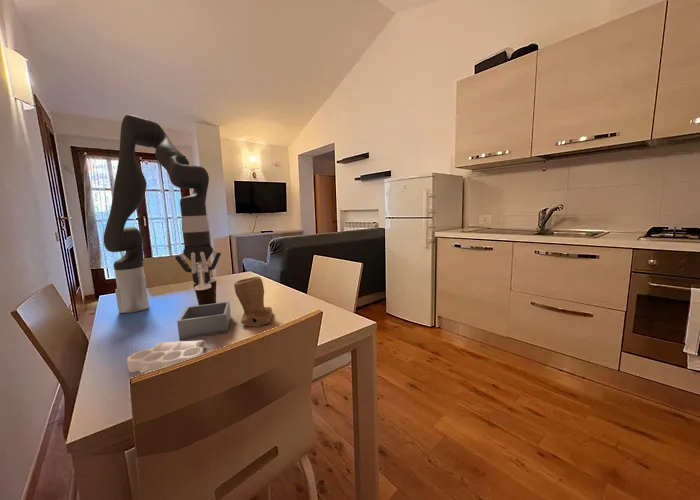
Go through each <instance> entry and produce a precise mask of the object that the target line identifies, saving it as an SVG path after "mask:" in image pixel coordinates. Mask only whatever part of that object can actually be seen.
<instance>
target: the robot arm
mask: <svg viewBox="0 0 700 500" xmlns="http://www.w3.org/2000/svg"><path fill="white" fill-rule="evenodd" d="M119 136H120V138H119V151H118V154H119V155H118V160H117V161H118V163H117V168H116V173H115V177H114V178H115V180H114V185H113V190H112V191H113V192H112V199H111V206H110V211H109V215H108V219H107V222H106V224H105V228H104V233H103V244H104V245H103V246H104V247H105V249H106V250H107V251H108V252H111V253H122V252H125V253H124V255H123V256H122V257H121V258H119V259H118V260H116V261H114V262H113V270H114V275H115V282H116V288H115V290H114V291H115V297H116V303H117V309H118V314H120V313H121V314H122V313H123V314H130V313H137V312H140V311H141V312H142V311H144V310H146V309H149V307H150V304H149V303H150V302H149V297H148V290H147V284H146V283H147V282H146V276H145V269H144V263H143V261H144V248H143V247H144V246H143V238H142V234H141V232H140V230H139V229H138V228H136V227H135V226H126V223H127V221H128V219H129V218H130V217H131V216H132V215H133V214H134V212H136V210H137V209H138V208H139V207H140V206H141V205H142V203H143V202H144V199H145V195H146V190H147V184H148V183H147V179H146V178H145V175H144V173H143V172H142V170H141V168H140V166H139V164H138V160H137V159H136V151H135V150H136V146H142V147H145V148H152V149H154V150H155V151H154V152H155V153H154V154H155V158H156V160H157V161H158V162H159V163H158V164H160V166H162V167H163V168H164V169H165V170H166V173H167V175H168V177H169V181H170V183H171V184H172V185H173V186H175V187H176V188H178V189H193V190H192V194H191V195H187V196H183V197H181V198H180V199H179V207H180V208H179V209H180V214H181V231H182V239H183V247H184V248H183V251H182V253H181V254H177V255H176V256H175V258H174V259H175V260H176V261H177V263H178V264H179V265H180V267H181V268H182V269H183V271H184V272H185V273H190V274H192V275H191V276H192V283H193V282H194V283H196V285H199V280H200V274H199V272H198V267H197V265H196V264H198V263H199V262H201V263H202V264H203V270H204V272H203V276H204V279H205V284H208V282H209V281H210V279H211V271H214V270H215V268H216V266H217V264H218V263H219V262H218V261H219V260H220V258H221V256H222V252H221V251H217V250H215V249H214V248H213V247H212V243H211V242H212V241H211V233H210V225H209V224H210V223H209V219H208V215H207V214H208V213H207V207H206V205H207V204H206V200H207V193H208V188H209V182H210V176H209V174H208V173H209V172H208V171H207V170H206V168H204V167H203V166H201V165H191V164H190V162H189V160H188V158H187V157H186V156H185V155H184V154H182V153H181V152H180V150H178V149H177V148H176V146H174V144H173V143H172V141H171V140H170V138H169V136H168V135H167V134H166V131H165V130H164V129H163V128H162V127H161V125H160V124H159V123H157V122H156V121H154V120H151V119H147V118H145V117H140V116H137V115H135V114H126V115H125V116H124V117H123V118H122V122H121V126H120V134H119ZM211 255H212V257H213V258H214V259H213V261H212V264H211V265H210V264H209V259H210V257H211ZM186 258H187V259H188V260H189V261H190V262H191V263H190V265H189V264H188V262H187V261H186V260H185V259H186Z"/></svg>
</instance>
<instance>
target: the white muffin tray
mask: <svg viewBox="0 0 700 500" xmlns="http://www.w3.org/2000/svg"><path fill="white" fill-rule="evenodd" d="M205 347H206V340H203V339H199V340H190V341H189V340H188V341H185V340H179V341H168V342H167V341H161V342H159V343H158V344H156V345H155V346H153V347H150V348H147V349H143V350H140V351H137V352H134V353H131V354H130V355H129V356H128V357H127V360H126V362H127V367H128V368H127V369H128V372H129V373H136V372H135V371H141V372H139V374H143V373H146V372H149V371H153V370H156V369H159V368H162V367H165V366H169V365H172V364H175V363H178V362H181V361H184V360H187V359H190V358H193V357H196V356H198V355H201V354H204V349H205ZM204 355H205V354H204Z"/></svg>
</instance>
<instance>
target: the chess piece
mask: <svg viewBox="0 0 700 500" xmlns="http://www.w3.org/2000/svg"><path fill="white" fill-rule="evenodd" d="M196 265H197V272H198V275H199V280H200V283H199V285H197V286H195V289H194V291H195V290H205V289H209V288H211V287H212V286H211V284H205V276H204V272H205V271H204V267H203V264H202V262H197V264H196Z"/></svg>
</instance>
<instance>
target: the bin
mask: <svg viewBox="0 0 700 500" xmlns="http://www.w3.org/2000/svg"><path fill="white" fill-rule="evenodd" d="M231 319H232V314H231V305H230V301H223V302H216V303H214V304H206V305H199V304H198V305H192V306H186V307H185V309H184V310H183V312H182V313H181V315H180V316H179V318H178V319H177V320H176V322H177V323H176V324H177V329H178V336H179V337H178V338H179V339H178V340H179V341H184V340H189V339H194V338H196V339H197V338H200V337H208V336H215V335H221V334H227V333H229V329H230V324H231V321H232V320H231Z"/></svg>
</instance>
